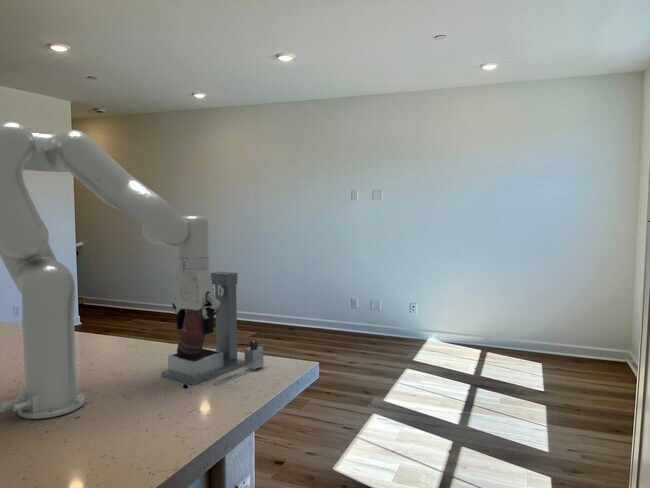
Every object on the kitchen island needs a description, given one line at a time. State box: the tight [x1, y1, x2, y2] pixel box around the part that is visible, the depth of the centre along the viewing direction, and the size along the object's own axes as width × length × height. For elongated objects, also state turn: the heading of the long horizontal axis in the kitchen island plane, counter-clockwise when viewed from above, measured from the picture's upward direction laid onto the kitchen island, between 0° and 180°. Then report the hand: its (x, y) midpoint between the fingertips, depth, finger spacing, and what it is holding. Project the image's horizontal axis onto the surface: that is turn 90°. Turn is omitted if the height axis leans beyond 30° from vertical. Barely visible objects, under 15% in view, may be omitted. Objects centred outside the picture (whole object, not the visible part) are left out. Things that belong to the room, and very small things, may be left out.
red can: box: [176, 309, 208, 360], centre depth 122 cm, size 6×6×14 cm
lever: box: [244, 339, 264, 371], centre depth 126 cm, size 4×3×7 cm
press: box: [161, 271, 261, 386], centre depth 123 cm, size 19×17×25 cm
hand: (195, 330), depth 122 cm, fingers open, 9 cm apart
